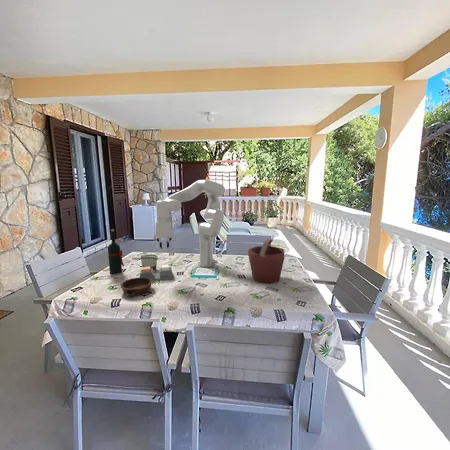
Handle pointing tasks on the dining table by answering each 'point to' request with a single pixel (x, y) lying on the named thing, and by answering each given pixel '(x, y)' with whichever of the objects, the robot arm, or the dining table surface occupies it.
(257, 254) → the bucket
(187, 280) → the dining table surface
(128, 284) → the dish
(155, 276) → the key panel
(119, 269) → the wine bottle
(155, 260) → the grey arched window
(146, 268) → the key terracotta
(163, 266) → the key cream
